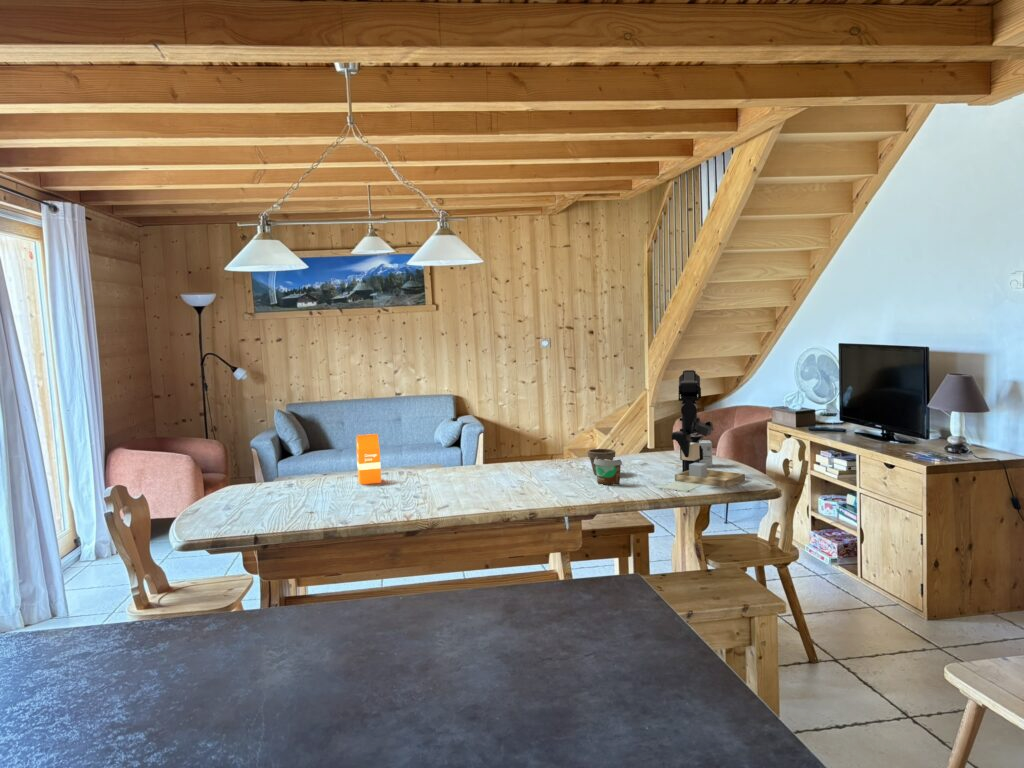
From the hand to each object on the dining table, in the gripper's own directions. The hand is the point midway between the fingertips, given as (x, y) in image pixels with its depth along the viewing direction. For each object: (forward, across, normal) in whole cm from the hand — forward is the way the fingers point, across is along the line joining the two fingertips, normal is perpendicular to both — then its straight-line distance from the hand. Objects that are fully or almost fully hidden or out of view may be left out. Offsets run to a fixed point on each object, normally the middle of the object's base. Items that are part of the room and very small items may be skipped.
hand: (690, 456), depth 287 cm
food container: (+12, -12, +31) cm, 35 cm away
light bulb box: (+12, +40, +16) cm, 44 cm away
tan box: (+1, 0, 0) cm, 1 cm away
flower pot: (+12, +4, +42) cm, 44 cm away
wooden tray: (+12, +12, -2) cm, 17 cm away
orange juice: (+12, -58, +118) cm, 132 cm away
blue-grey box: (+11, +12, +3) cm, 17 cm away
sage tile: (+12, -3, +2) cm, 12 cm away
